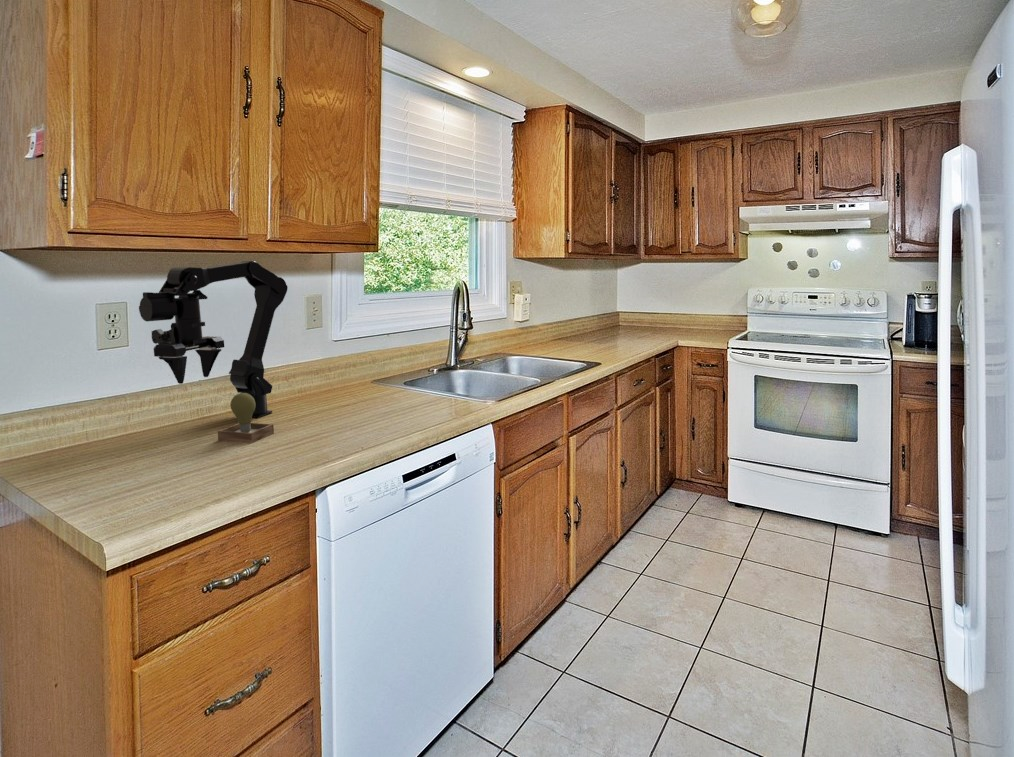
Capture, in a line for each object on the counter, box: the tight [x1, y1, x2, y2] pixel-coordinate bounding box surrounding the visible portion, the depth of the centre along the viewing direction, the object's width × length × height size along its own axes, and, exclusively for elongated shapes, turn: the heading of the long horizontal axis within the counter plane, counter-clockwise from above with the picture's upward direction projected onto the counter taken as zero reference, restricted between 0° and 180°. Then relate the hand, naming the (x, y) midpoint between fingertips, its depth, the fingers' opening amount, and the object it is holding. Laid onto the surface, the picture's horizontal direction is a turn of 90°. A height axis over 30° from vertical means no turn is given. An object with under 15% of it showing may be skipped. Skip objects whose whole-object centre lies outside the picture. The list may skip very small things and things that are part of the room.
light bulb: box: [230, 393, 256, 433], centre depth 153 cm, size 6×6×10 cm
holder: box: [217, 422, 275, 444], centre depth 154 cm, size 9×9×2 cm
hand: (193, 380), depth 160 cm, fingers open, 9 cm apart
